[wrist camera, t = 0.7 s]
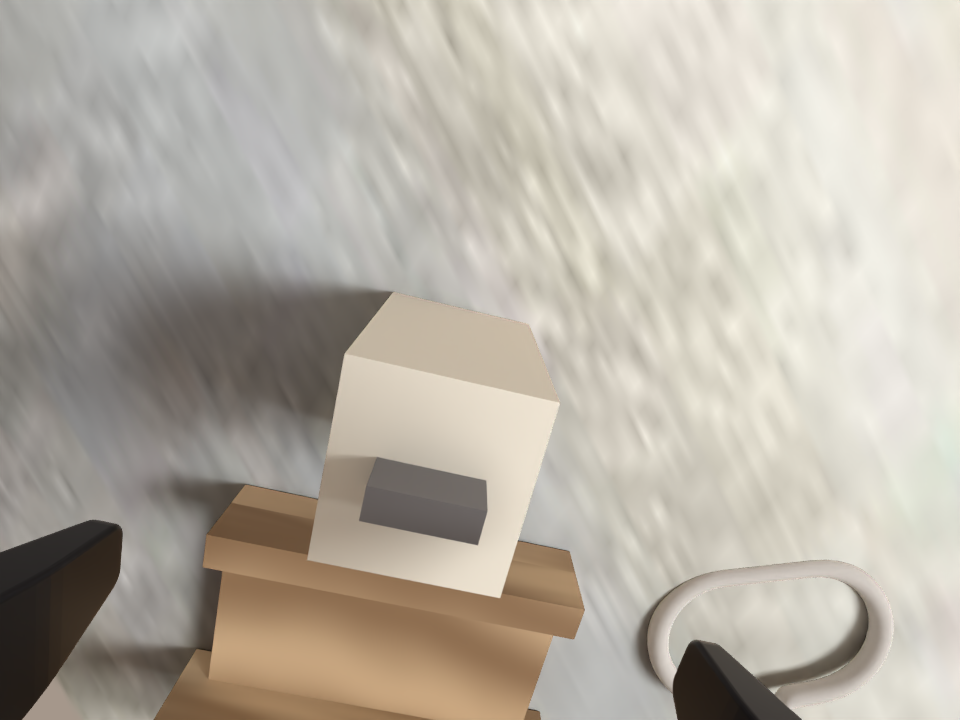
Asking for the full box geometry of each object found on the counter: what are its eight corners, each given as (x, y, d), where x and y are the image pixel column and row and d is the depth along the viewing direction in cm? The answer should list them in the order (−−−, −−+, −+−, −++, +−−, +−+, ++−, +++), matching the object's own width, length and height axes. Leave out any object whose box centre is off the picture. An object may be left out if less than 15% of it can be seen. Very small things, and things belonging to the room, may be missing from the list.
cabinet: (491, 458, 20) (502, 637, 12) (365, 431, 19) (289, 597, 11) (528, 324, 18) (569, 426, 10) (393, 292, 18) (329, 372, 10)
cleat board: (529, 740, 23) (547, 919, 18) (192, 679, 22) (95, 850, 17) (595, 556, 21) (641, 697, 15) (217, 478, 20) (111, 597, 14)
